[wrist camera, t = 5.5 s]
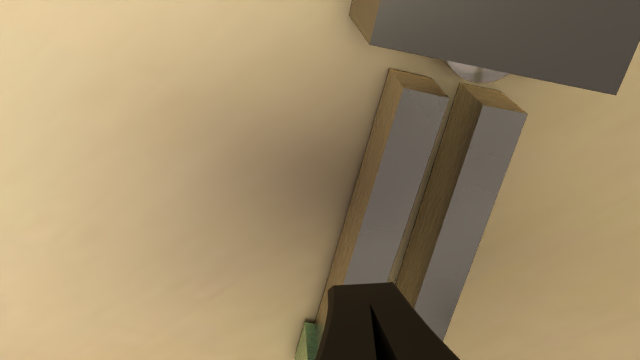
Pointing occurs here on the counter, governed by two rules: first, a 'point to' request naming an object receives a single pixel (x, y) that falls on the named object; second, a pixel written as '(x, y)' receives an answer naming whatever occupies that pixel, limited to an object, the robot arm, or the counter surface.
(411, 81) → the bar
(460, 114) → the tongs base
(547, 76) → the grey stepped block
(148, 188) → the counter surface
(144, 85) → the counter surface
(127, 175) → the counter surface
